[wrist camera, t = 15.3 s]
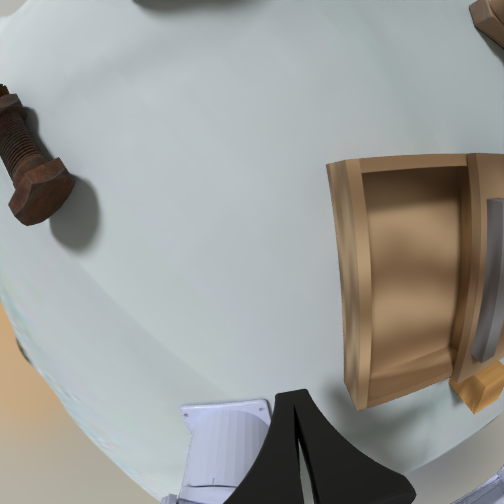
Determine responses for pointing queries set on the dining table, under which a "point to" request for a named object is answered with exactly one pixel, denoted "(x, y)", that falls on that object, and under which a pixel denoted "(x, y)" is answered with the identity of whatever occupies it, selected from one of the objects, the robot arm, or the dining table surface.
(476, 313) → the lid
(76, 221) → the dining table surface
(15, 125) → the bolt
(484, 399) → the brown block
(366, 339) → the brown wooden open box
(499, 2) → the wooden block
